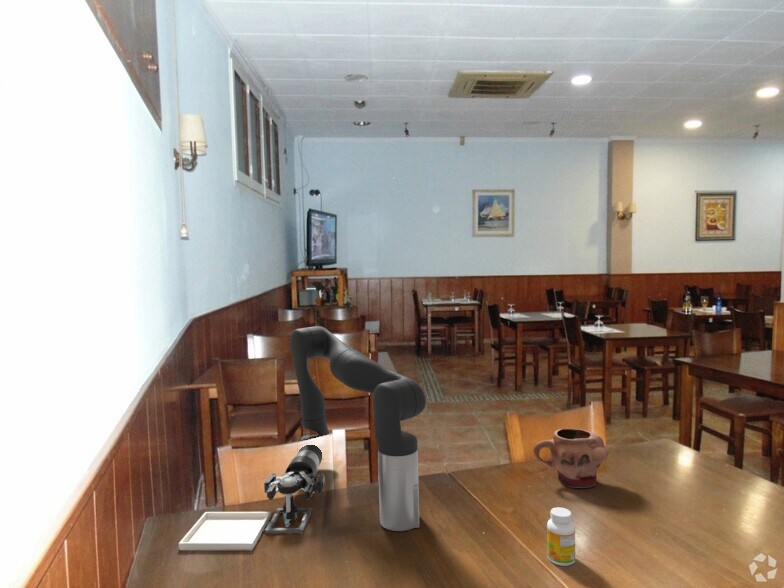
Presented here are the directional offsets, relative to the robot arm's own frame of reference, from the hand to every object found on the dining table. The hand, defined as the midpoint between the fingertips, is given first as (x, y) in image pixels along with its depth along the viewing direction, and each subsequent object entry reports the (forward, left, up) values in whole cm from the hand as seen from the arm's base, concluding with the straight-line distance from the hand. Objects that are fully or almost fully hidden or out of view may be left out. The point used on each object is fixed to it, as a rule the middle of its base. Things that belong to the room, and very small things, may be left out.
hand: (288, 496), depth 119 cm
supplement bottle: (-59, +14, -7) cm, 61 cm away
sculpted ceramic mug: (-72, -22, -7) cm, 75 cm away
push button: (0, -1, -7) cm, 7 cm away
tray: (+13, +4, -7) cm, 15 cm away
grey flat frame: (0, -1, -7) cm, 7 cm away
